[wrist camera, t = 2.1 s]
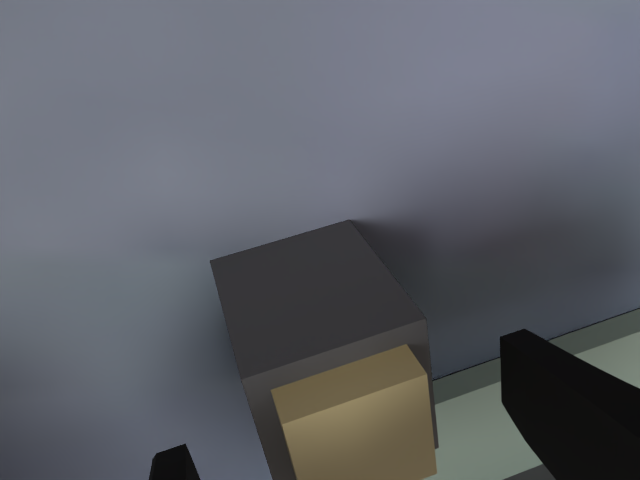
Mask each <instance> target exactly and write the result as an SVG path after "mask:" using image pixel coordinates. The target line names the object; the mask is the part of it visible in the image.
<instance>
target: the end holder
mask: <svg viewBox="0 0 640 480" xmlns="http://www.w3.org/2000/svg"><path fill="white" fill-rule="evenodd" d="M548 342H550V343H552V344H554V345H556V346H558V347H559V348H561V349H563V350H565V351H567V352H569V353H571V354H572V355H574V356H576V357H578V358H580V359H582V360H584V361H585V362H587V363H589V364H591V365H593V366H595V367H597V368H599V369H601V370H603V371H605V372H607V373H609V374H611V375H613V376H615V377H617V378H619V379H621V380H623V381H625V382H627V383H629V384H631V385H633V386H635V387H637V388H640V309H637V310H634V311H632V312H629V313H626V314H623V315H620V316H617V317H614V318H612V319H609V320H606V321H603V322H600V323H597V324H594V325H592V326H589V327H586V328H583V329H580V330H577V331H575V332H572V333H569V334H566V335H563V336H560V337H557V338H555V339H552V340H549V341H548ZM432 382H433V392H434V402H435V412H436V422H437V432H438V443H439V448H437V449H435V456H436V466H437V474H435V475H432V476H430V477H427V478H424V479H422V480H556V479H555V478H554V477H553V475H552V474H551V473H550V472H549V470H548V469H547V468H546V467H545V465H544V464H543V463H542V462H541V460H540V459H539V458H538V457H537V455H536V454H535V453H534V452H533V450H532V449H531V448H530V446H529V445H528V444H527V443H526V441H525V440H524V438H523V437H522V435H521V433H520V432H519V430H518V429H517V427H516V426H515V424H514V422H513V421H512V419H511V417H510V416H509V414H508V412H507V411H506V409H505V407H504V406H503V404H502V402H501V359H500V358H498V359H495V360H492V361H489V362H486V363H483V364H480V365H478V366H475V367H472V368H469V369H466V370H463V371H461V372H458V373H455V374H452V375H449V376H446V377H443V378H441V379H438V380H435V381H432Z"/></svg>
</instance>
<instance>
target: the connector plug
mask: <svg viewBox="0 0 640 480" xmlns="http://www.w3.org/2000/svg"><path fill="white" fill-rule="evenodd" d="M210 263H211V267H212V271H213V275H214V279H215V282H216V286H217V290H218V294H219V298H220V301H221V305H222V309H223V313H224V317H225V320H226V324H227V328H228V332H229V336H230V339H231V343H232V347H233V351H234V355H235V358H236V362H237V366H238V370H239V374H240V377H241V381H242V384H243V387H244V390H245V394H246V397H247V400H248V403H249V406H250V409H251V413H252V416H253V419H254V422H255V425H256V428H257V432H258V435H259V438H260V441H261V444H262V447H263V451H264V454H265V457H266V460H267V463H268V466H269V469H270V473H271V476H272V479H273V480H422V479H424V478H427V477H430V476H432V475H435V474H437V466H436V456H435V449H437V448H439V443H438V432H437V422H436V412H435V402H434V392H433V382H432V371H431V361H430V351H429V341H428V331H427V320H426V317H425V316H424V315H423V313H422V312H421V311H420V310H419V308H418V307H417V306H416V304H415V303H414V302H413V301H412V299H411V298H410V297H409V296H408V294H407V293H406V292H405V290H404V289H403V288H402V287H401V285H400V284H399V283H398V281H397V280H396V279H395V278H394V276H393V275H392V274H391V272H390V271H389V270H388V269H387V267H386V266H385V265H384V263H383V262H382V261H381V260H380V258H379V257H378V256H377V255H376V253H375V252H374V251H373V249H372V248H371V247H370V246H369V244H368V243H367V242H366V240H365V239H364V238H363V237H362V235H361V234H360V233H359V231H358V230H357V229H356V228H355V226H354V225H353V224H352V222H351V221H350V220H346V221H343V222H339V223H336V224H333V225H329V226H326V227H322V228H319V229H316V230H312V231H309V232H305V233H302V234H299V235H295V236H292V237H288V238H285V239H282V240H278V241H275V242H271V243H268V244H265V245H261V246H258V247H254V248H251V249H248V250H244V251H241V252H237V253H234V254H231V255H227V256H224V257H220V258H217V259H214V260H210Z"/></svg>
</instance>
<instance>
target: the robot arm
mask: <svg viewBox="0 0 640 480" xmlns="http://www.w3.org/2000/svg"><path fill="white" fill-rule="evenodd" d="M500 359H501V402H502V404H503V406H504V407H505V409H506V411H507V412H508V414H509V416H510V417H511V419H512V421H513V422H514V424H515V426H516V427H517V429H518V430H519V432H520V433H521V435H522V437H523V438H524V440H525V441H526V443H527V444H528V445H529V446H530V448H531V449H532V450H533V452H534V453H535V454H536V455H537V457H538V458H539V459H540V460H541V462H542V463H543V464H544V465H545V467H546V468H547V469H548V470H549V472H550V473H551V474H552V475H553V477H554V478H555V479H556V480H640V388H637V387H635V386H633V385H631V384H629V383H627V382H625V381H623V380H621V379H619V378H617V377H615V376H613V375H611V374H609V373H607V372H605V371H603V370H601V369H599V368H597V367H595V366H593V365H591V364H589V363H587V362H585V361H584V360H582V359H580V358H578V357H576V356H574V355H572V354H571V353H569V352H567V351H565V350H563V349H561V348H559V347H558V346H556V345H554V344H552V343H550V342H548V341H547V340H545V339H543V338H541V337H539V336H537V335H535V334H534V333H532V332H530V331H528V330H526V329H522V330H519V331H516V332H513V333H510V334H507V335H504V336H501V337H500ZM149 480H200V478H199V475H198V473H197V470H196V468H195V465H194V463H193V460H192V458H191V456H190V453H189V451H188V448H187V446H186V444H183V445H180V446H177V447H174V448H171V449H168V450H165V451H162V452H159V453H156V455H155V456H154V458H153V460H152V466H151V471H150V476H149Z"/></svg>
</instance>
